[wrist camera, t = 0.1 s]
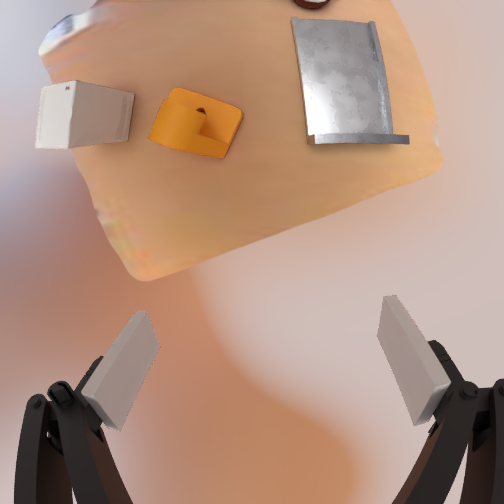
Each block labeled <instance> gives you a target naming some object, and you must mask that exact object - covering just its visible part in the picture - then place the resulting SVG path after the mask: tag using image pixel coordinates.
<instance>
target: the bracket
mask: <svg viewBox="0 0 504 504" xmlns="http://www.w3.org/2000/svg"><path fill="white" fill-rule="evenodd" d="M203 110H205V112H206V114H203V113H201V111H203ZM242 118H243V113H242V112H241V110H240V109H239V108H237V107H234V106H231V105H229V104H226V103H224V102H221V101H218V100H215V99H213V98H210V97H207V96H204V95H201V94H198V93H195V92H192V91H189V90H186V89H183V88H180V87H177V88H174V89H173V90H172V91H171V93H170V95H169V97H168V100H167V101H166V100H163V103H162V105H161V107H160V109H159V112H158V114H157V117H156V119H155V122H154V124H153V127H152V129H151V132H150V134H149V137H148V138H149V139H150V140H152V141H154V142H156V143H159V144H161V145H164V146H167V147H170V148H173V149H176V150H180V151H184V152H190V153H196V154H202V155H207V156H212V157H217V158H224V157H225V155H226V152H227V150H228V148H229V146H230V144H231V141H232V139H233V137H234V135H235V133H236V131H237V129H238V126H239V124H240V122H241V120H242Z"/></svg>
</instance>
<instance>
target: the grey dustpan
mask: <svg viewBox="0 0 504 504" xmlns="http://www.w3.org/2000/svg"><path fill="white" fill-rule="evenodd" d="M291 26H292V31H293V37H294V42H295V48H296V54H297V61H298V67H299V74H300V81H301V89H302V96H303V104H304V113H305V122H306V131H307V141H308V144H324V143H386V144H409V135H396V134H393V125H392V115H391V106H390V98H389V91H388V84H387V78H386V72H385V66H384V61H383V56H382V51H381V46H380V42H379V38H378V33H377V29H376V26H375V22H372V21H369V23H360V22H351V21H339V20H318V19H298V18H297V17H292V18H291Z"/></svg>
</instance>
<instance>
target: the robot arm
mask: <svg viewBox="0 0 504 504" xmlns="http://www.w3.org/2000/svg"><path fill="white" fill-rule="evenodd" d="M377 337H378V339H379V341H380V344H381V346H382V348H383V350H384V353H385V355H386V357H387V360H388V362H389V364H390V366H391V369H392V371H393V374H394V375H395V378H396V381H397V383H398V386H399V388H400V391H401V393H402V396H403V398H404V401H405V403H406V406H407V408H408V411H409V414H410V416H411V419H412V422H413V425H414V426H416V425H419V424H423V423H426V422H428V421H429V420H430V418H431V417H432V415H434V417H435V420H436V421H435V423H434V424H433V425H432V427H431V428H430V430H429V432H428V433H430V434H429V436H428V438H427V441H426V443H425V445H424V447H423V449H422V451H421V453H420V455H419V457H418V459H417V461H416V463H415V465H414V467H413V469H412V471H411V473H410V475H409V476H408V478H407V480H406V482H405V483H404V485H403V487H402V488H401V490H400V492H399V493H398V495H397V496H396V498H395V500H394V501H393V503H392V504H443V503H444V501H445V499H446V497H447V495H448V493H449V491H450V489H451V486H452V484H453V482H454V479H455V477H456V474H457V472H458V470H459V467H460V464H461V462H462V459H463V456H464V453H465V450H466V447H467V444H468V453H467V463H466V471H465V477H464V483H463V489H462V494H461V499H460V503H459V504H504V379H499V380H498V381H496V383H495V384H494V386H493V387H491V388H478V387H477V386H476V385H475V384H474V383H472V382H468V381H465V380H464V379H463V377H462V375H461V374H460V372H459V371H458V369H457V367H456V366H455V364H454V362H453V361H452V360H451V358H450V356H449V355H448V354H447V352H446V350H445V348H444V347H443V346H442V345H441V344H440V343H439V342H437V341H436V340H432V341H428V342H427V341H426V339H425V338H424V336H423V334H422V333H421V331H420V330H419V328H418V327H417V325H416V324H415V322H414V321H413V319H412V318H411V316H410V315H409V313H408V312H407V310H406V309H405V307H404V306H403V304H402V303H401V302H400V300H399V299H398V297H397V296H396V295H392V296H385V297H383V304H382V311H381V317H380V323H379V329H378V334H377ZM159 349H160V345H159V343H158V340H157V337H156V334H155V331H154V329H153V326H152V323H151V320H150V317H149V314H148V311H136V312H135V313H134V315H133V316H132V317H131V319H130V320H129V322H128V323H127V324H126V326H125V327H124V329H123V330H122V332H121V333H120V334H119V336H118V337H117V339H116V340H115V341H114V343H113V344H112V346H111V347H110V349H109V350H108V352H107V353H106V355H105V356H100V357H99V358H98V359H96V360H95V361H94V362H93V364H92V365H91V367H90V368H89V370H88V371H87V372H86V375H84V377H83V378H82V380H81V381H80V383H79V384H78V386H77V387H76V389H75V390H74V391H73V390H72V388H71V387H70V385H69V384H68V383H67V382H65V381H58V382H56V383H54V384H52V385H51V386H50V388H49V389H48V392H47V395H48V396H49V397H50V399H51V400H52V401H48V400H47V399H46V398H45V396H44V395H42V394H36V395H34V396H32V397H31V398H30V399H29V400H28V402H27V406H26V410H25V414H24V419H23V424H22V429H21V434H20V440H19V446H18V454H17V461H16V472H15V485H14V504H73V498H72V488H73V492H74V495H75V498H76V501H77V504H133V502H132V500H131V498H130V496H129V494H128V492H127V490H126V488H125V486H124V484H123V481H122V479H121V477H120V475H119V472H118V470H117V468H116V465H115V463H114V460H113V457H112V455H111V452H110V449H109V447H108V444H107V441H106V438H105V436H104V432H103V430H102V428H101V427H100V425H101V424H102V422H103V423H104V424H105V425H106V426H107V428H109V429H113V430H116V431H121V429H122V427H123V425H124V423H125V421H126V418H127V416H128V414H129V412H130V410H131V407H132V405H133V403H134V401H135V398H136V397H137V394H138V392H139V390H140V388H141V386H142V384H143V382H144V380H145V377H146V376H147V374H148V372H149V370H150V367H151V365H152V363H153V361H154V359H155V357H156V355H157V353H158V351H159ZM47 432H48V433H49V434H48V437H47Z"/></svg>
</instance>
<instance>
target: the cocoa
mask: <svg viewBox="0 0 504 504" xmlns="http://www.w3.org/2000/svg"><path fill="white" fill-rule="evenodd" d="M294 1H295V2H296V3H297V4H299V5H301V6H303V7H307V8H320V7H322V6H323V5H325V4H326V3H328V2H329V1H330V0H294Z"/></svg>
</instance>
